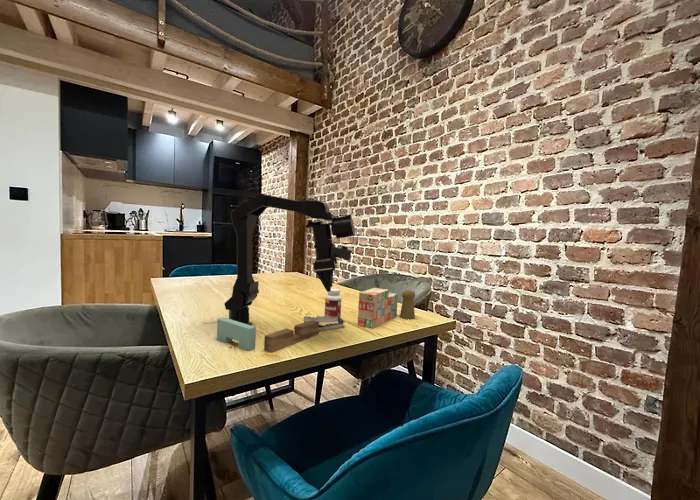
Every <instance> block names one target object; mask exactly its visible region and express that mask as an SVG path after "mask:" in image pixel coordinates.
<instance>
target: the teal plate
mask: <svg viewBox="0 0 700 500" xmlns="http://www.w3.org/2000/svg"><path fill="white" fill-rule="evenodd" d="M216 320H217V321H216V323H217V325H216V328H217V329H216V340H218V341H221V342H224V343H229V342H232V341H233V340H234V341H238V348H240V349H241V350H245V351H248V352H251V351H252V350H255V349H256V341H257V340H256V339H257V338H256V337H257V335H256V334H257V327H256V326H254V325H247V324H244V323H241V322H238V321H234V320H231V319H229V317H228V318H227V317H220V318H217V319H216Z"/></svg>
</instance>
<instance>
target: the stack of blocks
mask: <svg viewBox="0 0 700 500" xmlns="http://www.w3.org/2000/svg"><path fill="white" fill-rule="evenodd" d="M398 295H399V294H398V293H393V292H390V290H389V289H385V288H379V287H378V288H377V287H372V288H369V289H367V290H363V291H360V292H359V294H358V314H357V326H359V327H364V328H368V329H372V330H373V329H375V328H377V327H378V326H380V325H382V324H385V323H386V322H388V321H390V320H392V319H394V318H396V317H397V314H398Z"/></svg>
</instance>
